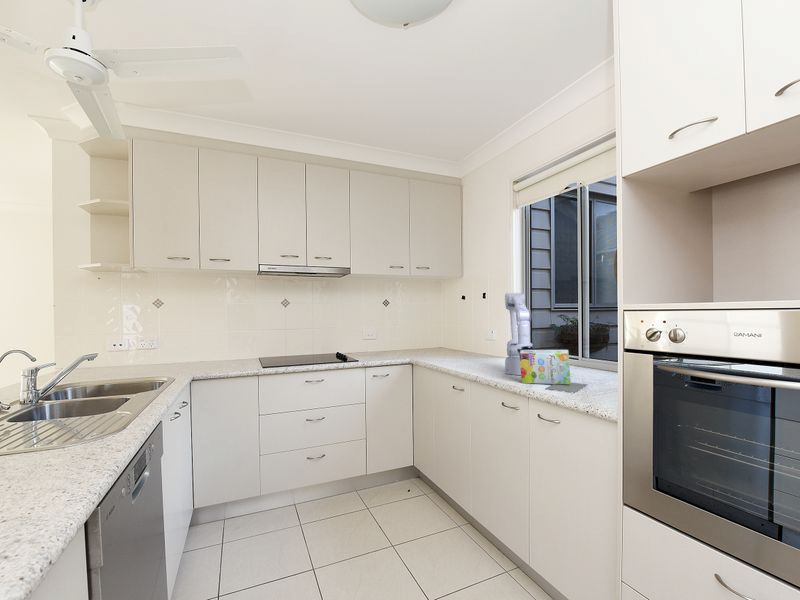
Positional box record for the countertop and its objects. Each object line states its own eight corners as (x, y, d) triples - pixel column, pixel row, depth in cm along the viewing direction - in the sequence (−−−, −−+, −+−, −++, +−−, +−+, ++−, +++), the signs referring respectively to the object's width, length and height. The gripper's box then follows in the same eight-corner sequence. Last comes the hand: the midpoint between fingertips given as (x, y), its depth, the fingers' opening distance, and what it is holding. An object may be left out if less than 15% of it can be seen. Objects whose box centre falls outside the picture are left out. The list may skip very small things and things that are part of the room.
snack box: (570, 380, 170) (568, 349, 168) (570, 385, 165) (568, 353, 163) (522, 378, 179) (520, 349, 177) (521, 383, 174) (518, 352, 172)
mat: (545, 389, 160) (545, 388, 160) (560, 382, 175) (560, 381, 175) (574, 393, 152) (574, 392, 152) (587, 385, 168) (587, 384, 168)
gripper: (526, 336, 171) (526, 365, 171) (537, 334, 182) (538, 361, 182) (511, 335, 176) (512, 364, 175) (523, 333, 187) (524, 360, 186)
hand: (524, 362), depth 179 cm, fingers closed
